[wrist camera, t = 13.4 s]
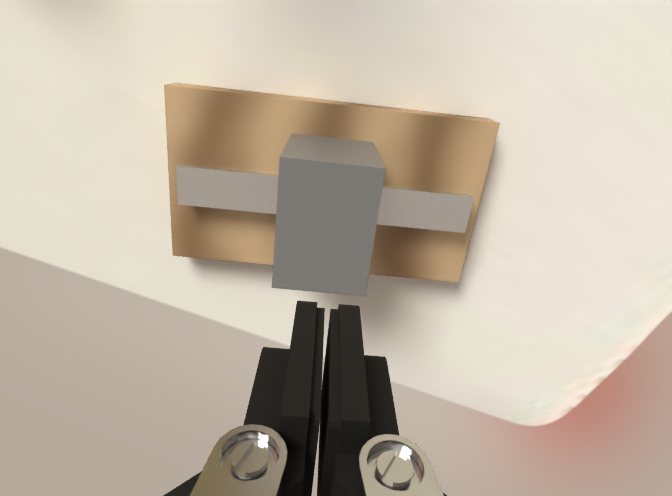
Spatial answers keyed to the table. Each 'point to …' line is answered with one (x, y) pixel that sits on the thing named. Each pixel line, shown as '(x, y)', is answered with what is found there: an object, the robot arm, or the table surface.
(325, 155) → the block
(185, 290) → the table surface
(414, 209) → the rail
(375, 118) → the mounting board
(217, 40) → the table surface
